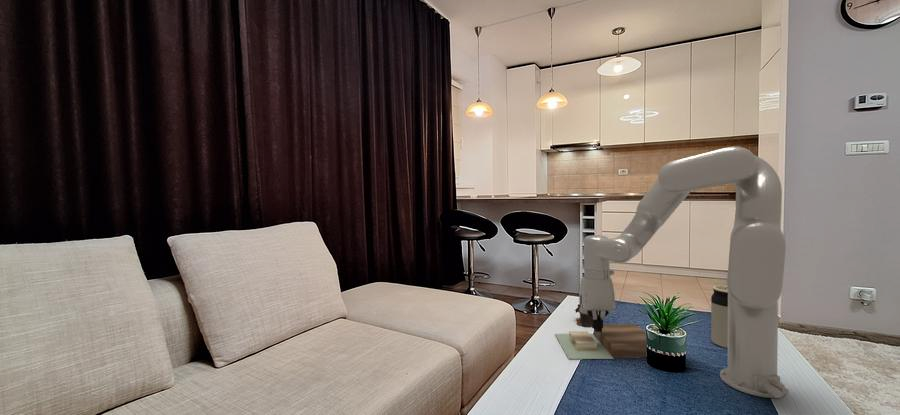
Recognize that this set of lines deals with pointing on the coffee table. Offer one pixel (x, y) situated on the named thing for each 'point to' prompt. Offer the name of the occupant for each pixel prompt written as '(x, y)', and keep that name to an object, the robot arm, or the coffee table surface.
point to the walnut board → (623, 340)
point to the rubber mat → (581, 355)
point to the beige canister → (719, 316)
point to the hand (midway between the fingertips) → (597, 330)
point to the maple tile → (582, 341)
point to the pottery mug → (584, 318)
